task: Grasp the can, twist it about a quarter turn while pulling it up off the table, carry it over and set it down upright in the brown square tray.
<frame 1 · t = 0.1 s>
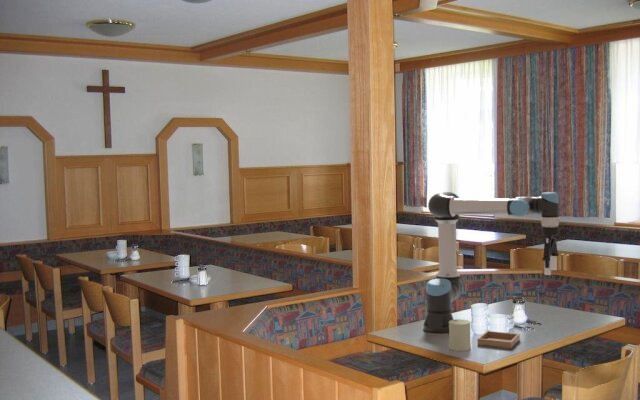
hand: (550, 272, 319), 28 cm above the table, fingers open, 13 cm apart
can: (459, 348, 301), on the table
brown square tray: (498, 343, 307), on the table
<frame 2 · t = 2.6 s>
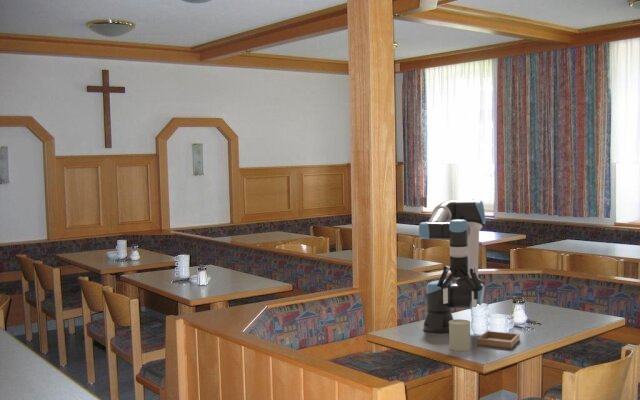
hand: (459, 305, 300), 19 cm above the table, fingers open, 13 cm apart
nothing on the table moved.
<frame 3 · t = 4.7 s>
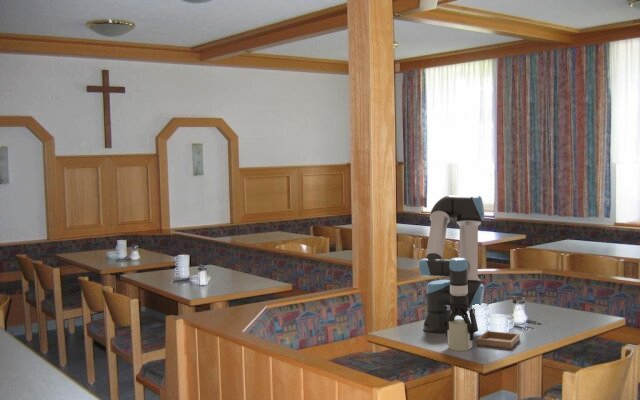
hand: (459, 345, 301), 1 cm above the table, fingers closed on can, 9 cm apart
can: (460, 348, 301), on the table, touching gripper
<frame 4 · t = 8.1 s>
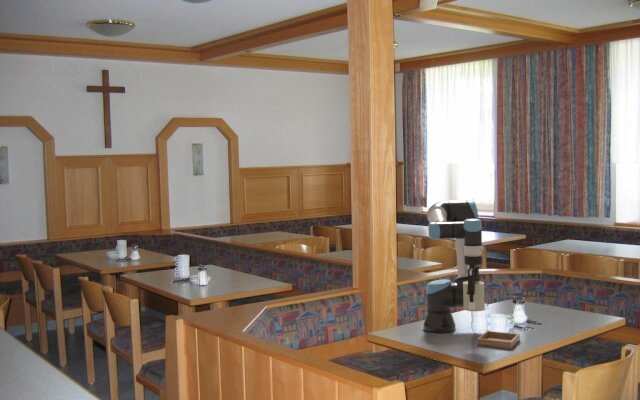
hand: (474, 306, 302), 17 cm above the table, fingers closed on can, 9 cm apart
can: (474, 309, 302), point 16 cm above the table, touching gripper
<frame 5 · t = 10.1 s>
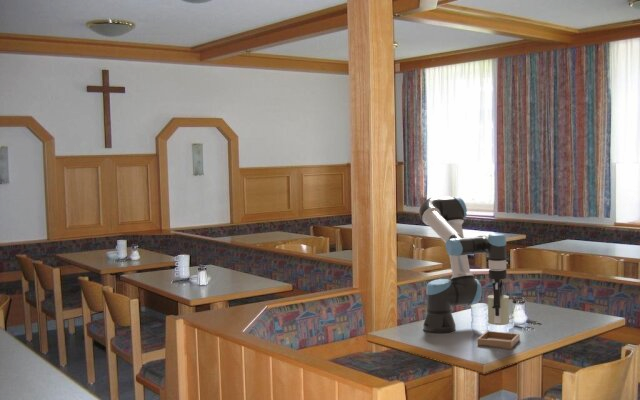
hand: (498, 320, 306), 10 cm above the table, fingers closed on can, 9 cm apart
can: (498, 323, 306), point 9 cm above the table, touching gripper
when the fingers open (4 cm above the table, at t = 11.6 s): can drops 3 cm, resting on brown square tray.
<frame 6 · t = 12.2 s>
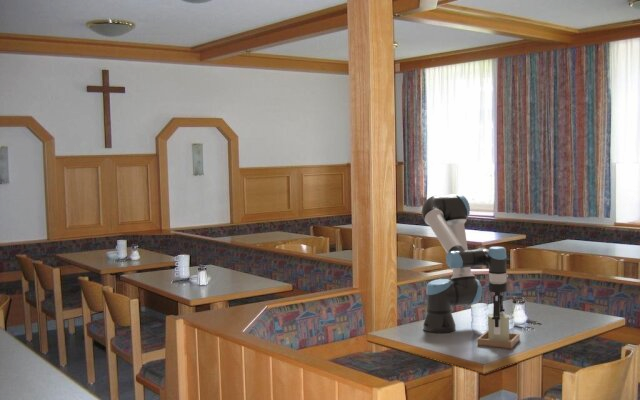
hand: (498, 330, 306), 6 cm above the table, fingers open, 13 cm apart
can: (498, 342, 306), resting on brown square tray
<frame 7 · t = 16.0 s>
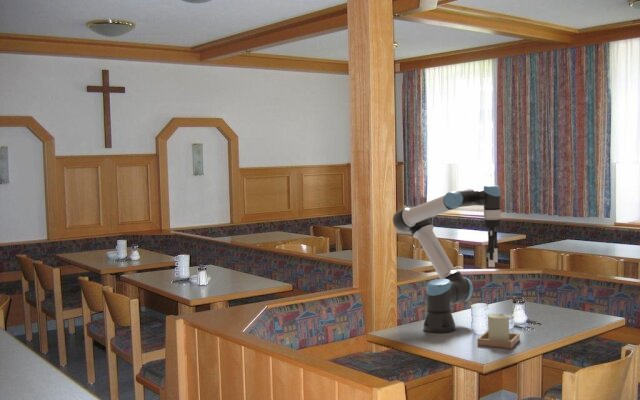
hand: (493, 264, 324), 32 cm above the table, fingers open, 13 cm apart
nothing on the table moved.
at the end: can inside the target area on the brown square tray (0.1 cm from its centre), point 0.4 cm above the brown square tray's base; can tilted 0°; the gripper is holding nothing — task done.
